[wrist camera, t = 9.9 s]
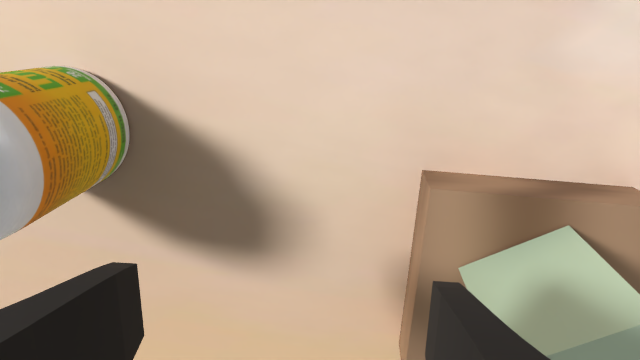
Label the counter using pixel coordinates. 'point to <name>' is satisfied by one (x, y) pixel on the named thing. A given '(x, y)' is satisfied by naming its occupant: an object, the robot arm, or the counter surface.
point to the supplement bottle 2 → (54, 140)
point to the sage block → (560, 298)
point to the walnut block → (507, 231)
